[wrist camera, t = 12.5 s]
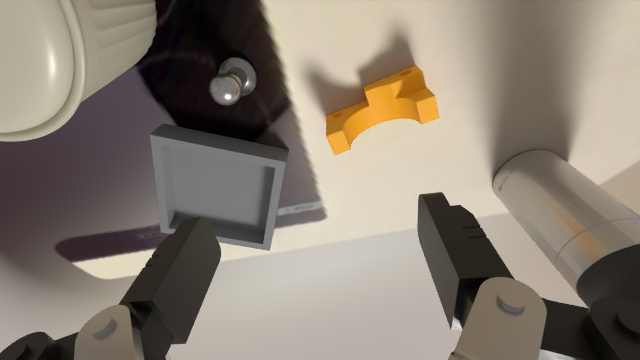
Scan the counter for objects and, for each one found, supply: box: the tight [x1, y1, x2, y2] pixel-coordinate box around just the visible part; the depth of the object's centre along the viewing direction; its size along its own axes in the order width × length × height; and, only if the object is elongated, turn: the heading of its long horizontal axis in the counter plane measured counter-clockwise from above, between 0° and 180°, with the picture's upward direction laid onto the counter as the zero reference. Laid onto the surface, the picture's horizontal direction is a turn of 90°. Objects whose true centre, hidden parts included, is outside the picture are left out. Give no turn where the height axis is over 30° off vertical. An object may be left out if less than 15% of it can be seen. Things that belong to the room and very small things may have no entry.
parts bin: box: [150, 124, 289, 251], centre depth 42 cm, size 17×17×4 cm
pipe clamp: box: [326, 65, 439, 155], centre depth 34 cm, size 12×4×6 cm, turn 113°
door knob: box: [209, 57, 257, 105], centre depth 32 cm, size 4×4×7 cm
